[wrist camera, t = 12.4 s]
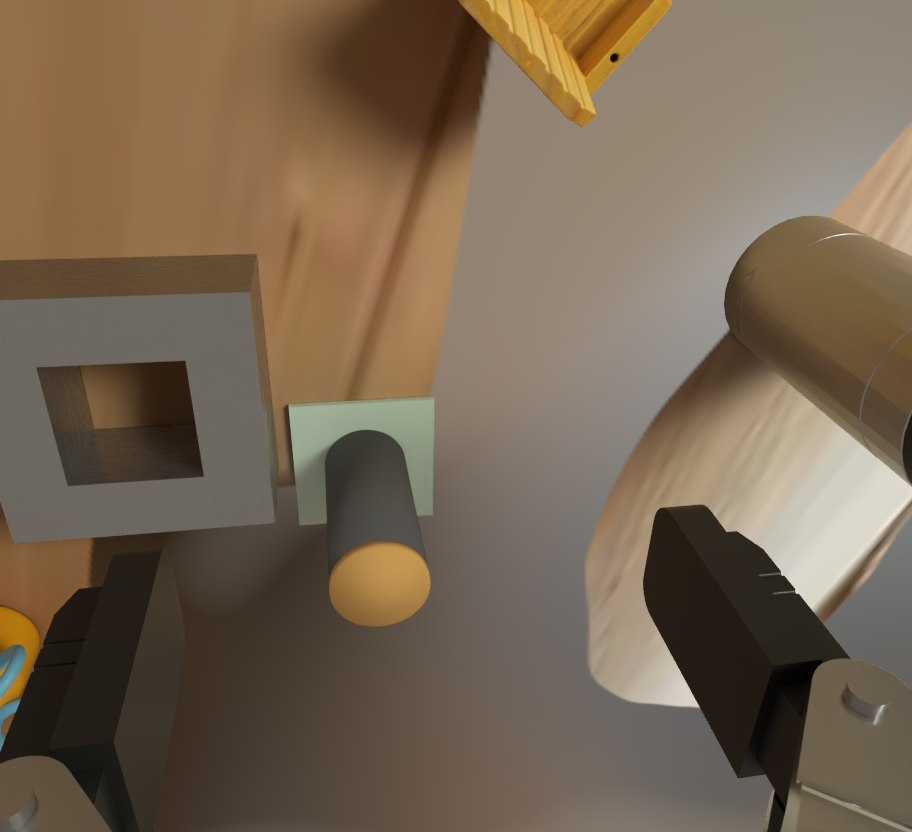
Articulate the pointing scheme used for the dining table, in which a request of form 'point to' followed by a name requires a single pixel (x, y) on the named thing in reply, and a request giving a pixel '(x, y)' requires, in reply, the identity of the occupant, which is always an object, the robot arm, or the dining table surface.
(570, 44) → the yellow piece
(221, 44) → the dining table surface
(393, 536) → the plug
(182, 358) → the housing
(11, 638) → the yellow blue looped piece
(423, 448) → the mat
